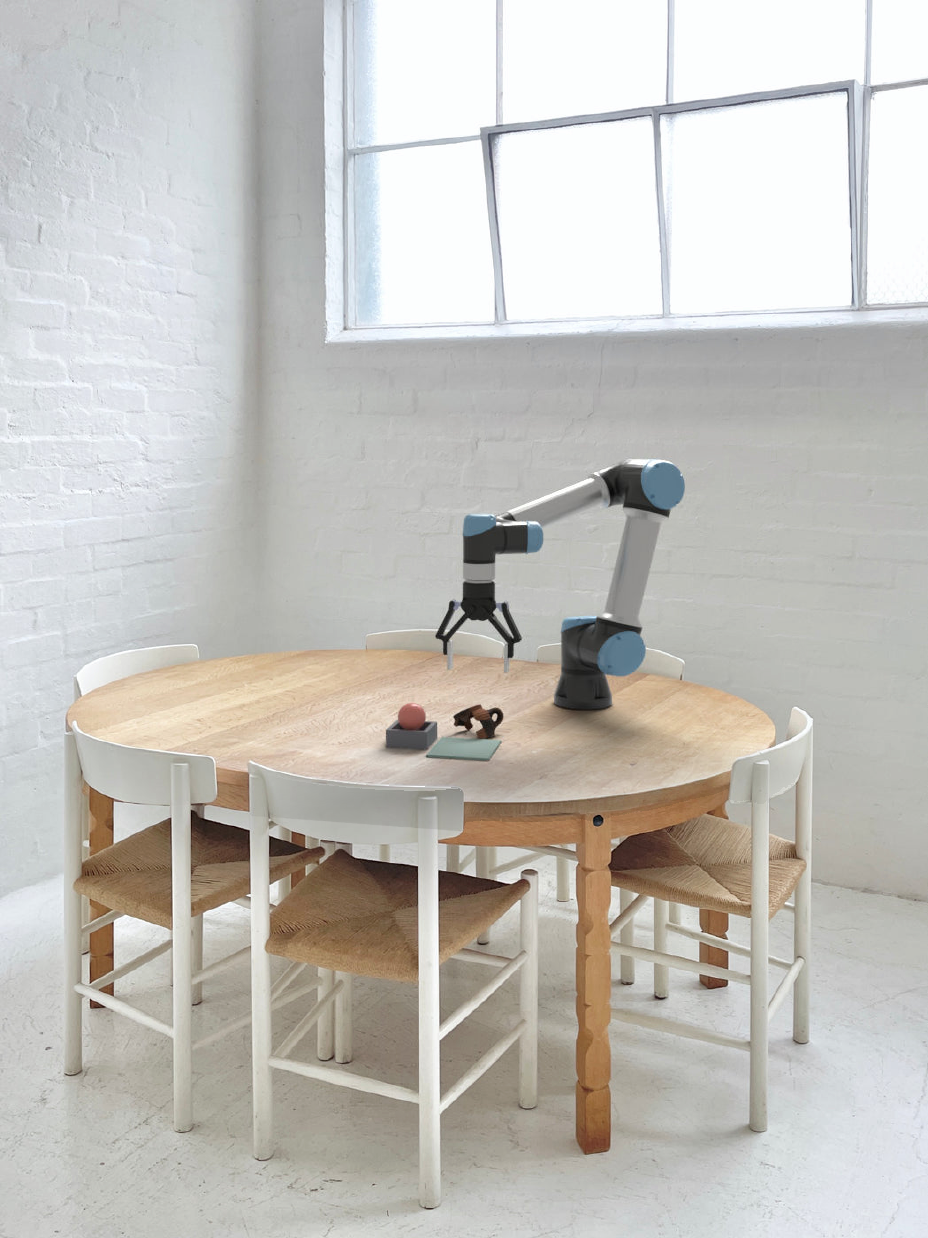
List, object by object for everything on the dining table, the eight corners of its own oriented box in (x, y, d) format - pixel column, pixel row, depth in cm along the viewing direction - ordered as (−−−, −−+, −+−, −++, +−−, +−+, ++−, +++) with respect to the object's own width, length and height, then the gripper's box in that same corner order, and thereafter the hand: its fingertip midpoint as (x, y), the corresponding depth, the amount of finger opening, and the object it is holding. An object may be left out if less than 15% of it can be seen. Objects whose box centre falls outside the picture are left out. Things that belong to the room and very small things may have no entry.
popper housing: (437, 738, 267) (437, 721, 267) (427, 749, 258) (427, 732, 257) (397, 736, 269) (397, 719, 269) (386, 747, 260) (385, 729, 259)
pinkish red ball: (428, 727, 265) (428, 700, 264) (422, 734, 259) (421, 707, 258) (402, 726, 267) (401, 699, 266) (394, 733, 261) (394, 705, 260)
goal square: (501, 742, 264) (501, 740, 264) (488, 760, 249) (488, 758, 249) (442, 739, 267) (442, 736, 267) (426, 756, 252) (426, 754, 252)
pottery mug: (469, 745, 264) (455, 712, 265) (458, 752, 272) (445, 720, 274) (514, 726, 268) (500, 694, 269) (502, 734, 277) (488, 703, 278)
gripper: (534, 580, 268) (532, 669, 272) (430, 576, 274) (430, 664, 277) (529, 584, 261) (527, 676, 265) (422, 580, 266) (422, 670, 270)
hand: (478, 670), depth 271 cm, fingers open, 13 cm apart
